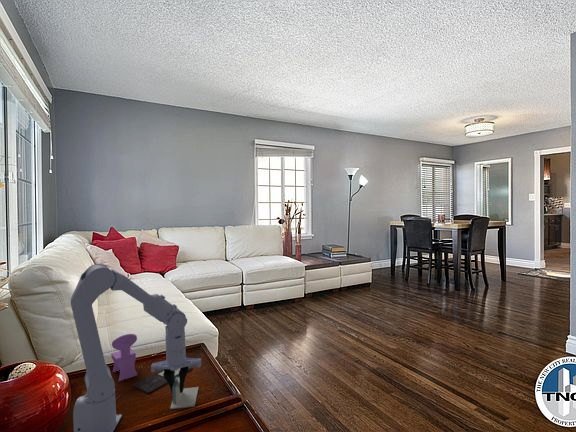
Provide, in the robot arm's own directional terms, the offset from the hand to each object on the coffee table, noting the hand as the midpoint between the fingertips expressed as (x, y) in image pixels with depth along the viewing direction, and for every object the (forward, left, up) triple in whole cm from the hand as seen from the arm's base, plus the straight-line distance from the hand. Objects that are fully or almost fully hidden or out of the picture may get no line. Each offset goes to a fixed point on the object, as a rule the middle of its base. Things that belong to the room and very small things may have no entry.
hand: (177, 391), depth 100 cm
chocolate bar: (-7, +14, -3) cm, 16 cm away
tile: (0, 0, -2) cm, 2 cm away
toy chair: (-22, +20, -3) cm, 30 cm away
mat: (+2, 0, -2) cm, 3 cm away
